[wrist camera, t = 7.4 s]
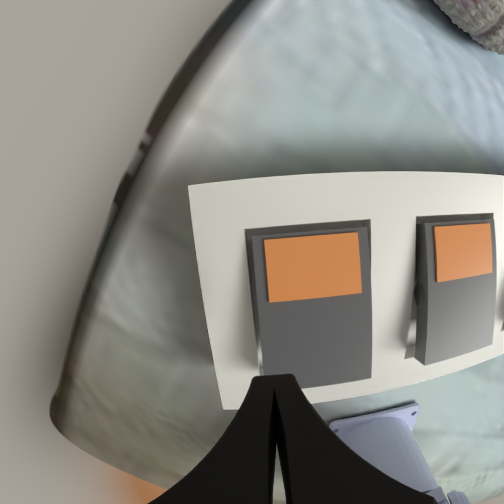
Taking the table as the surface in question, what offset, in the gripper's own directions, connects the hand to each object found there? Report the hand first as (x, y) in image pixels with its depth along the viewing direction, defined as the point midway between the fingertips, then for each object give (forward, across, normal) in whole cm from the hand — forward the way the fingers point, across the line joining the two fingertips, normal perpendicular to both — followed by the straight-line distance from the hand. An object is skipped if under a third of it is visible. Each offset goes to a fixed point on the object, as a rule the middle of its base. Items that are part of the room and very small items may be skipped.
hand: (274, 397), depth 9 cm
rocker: (+4, -2, -1) cm, 5 cm away
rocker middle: (+4, -10, -1) cm, 11 cm away
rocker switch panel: (+9, -10, -1) cm, 13 cm away
